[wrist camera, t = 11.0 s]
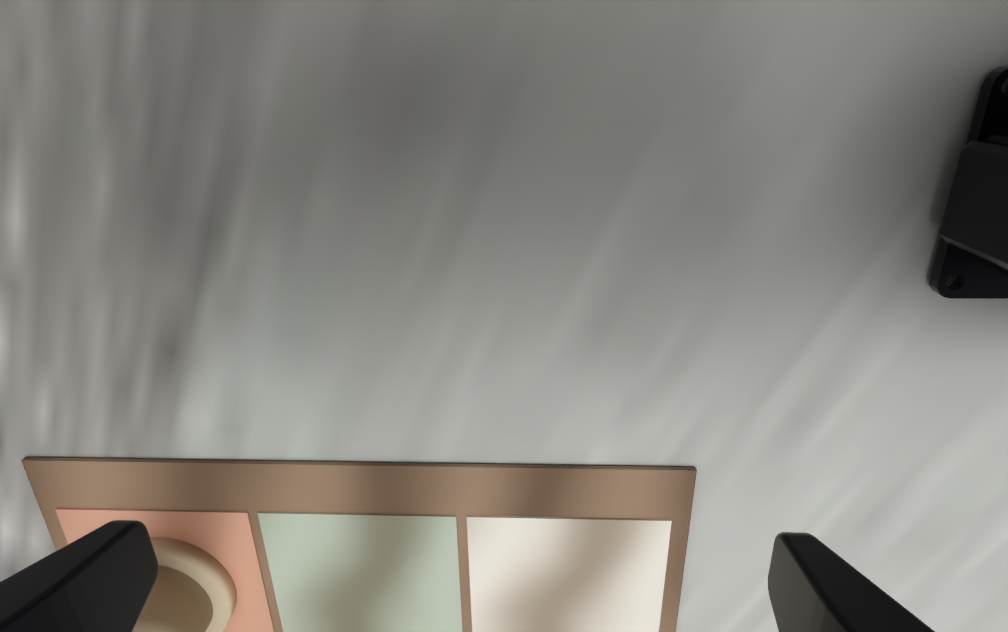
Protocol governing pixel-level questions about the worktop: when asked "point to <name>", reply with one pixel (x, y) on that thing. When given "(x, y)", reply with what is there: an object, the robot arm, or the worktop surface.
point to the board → (403, 538)
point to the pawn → (187, 591)
